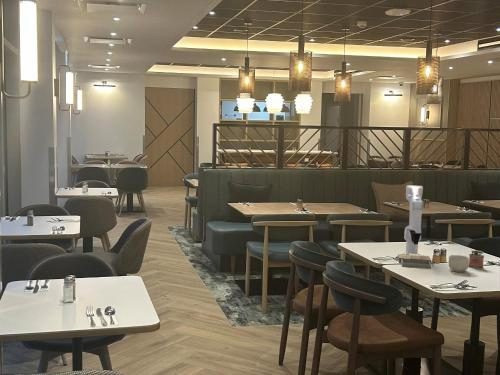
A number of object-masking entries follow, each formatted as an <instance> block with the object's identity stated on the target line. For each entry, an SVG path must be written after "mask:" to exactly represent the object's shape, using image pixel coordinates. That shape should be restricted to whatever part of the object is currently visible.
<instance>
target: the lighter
mask: <svg viewBox="0 0 500 375" xmlns="http://www.w3.org/2000/svg"><path fill="white" fill-rule="evenodd" d="M483 254H484V251H482V250H473V249H472V250H471V253H469V254H468V257H469V266H468V268H470V269H471V268H472V269H479V270H483V269H484V259H485V255H483Z"/></svg>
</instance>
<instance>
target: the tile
mask: <svg viewBox="0 0 500 375" xmlns="http://www.w3.org/2000/svg"><path fill="white" fill-rule="evenodd" d="M421 256H422V255H421V254H420V253H418V254H409V258H410V259H420V257H421Z"/></svg>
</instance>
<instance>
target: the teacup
mask: <svg viewBox="0 0 500 375" xmlns="http://www.w3.org/2000/svg"><path fill="white" fill-rule="evenodd" d="M468 266H469V256H467V255H462V254H461V255H460V254H451V255H449V256H448V267H449V269H450V270H451V271H453V272H454V273H455V272H456V273H465V272H466V271H467V270H468V268H469V267H468Z"/></svg>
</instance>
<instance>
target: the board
mask: <svg viewBox="0 0 500 375" xmlns="http://www.w3.org/2000/svg"><path fill="white" fill-rule="evenodd" d="M420 256H421V257H420V259H410V258H409V255H407V254H405V253H404V254H403V253H398V254H397V260H399V261H398V263H401V259H405V260H419V261H430V263H431V264H432V259H431V258H430V256H429V255H420Z"/></svg>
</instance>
